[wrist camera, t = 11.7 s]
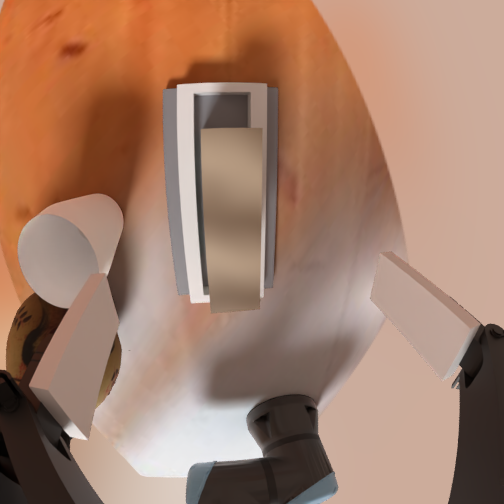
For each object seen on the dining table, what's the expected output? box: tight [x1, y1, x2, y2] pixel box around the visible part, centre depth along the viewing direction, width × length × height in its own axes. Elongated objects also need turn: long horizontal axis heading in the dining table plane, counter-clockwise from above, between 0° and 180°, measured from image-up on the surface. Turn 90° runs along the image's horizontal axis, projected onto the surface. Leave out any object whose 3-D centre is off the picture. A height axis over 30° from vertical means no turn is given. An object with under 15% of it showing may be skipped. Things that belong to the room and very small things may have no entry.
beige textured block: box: [201, 128, 263, 313], centre depth 24 cm, size 14×4×11 cm, turn 0°
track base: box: [163, 82, 278, 303], centre depth 29 cm, size 24×12×4 cm, turn 0°
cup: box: [18, 193, 124, 308], centre depth 23 cm, size 9×9×12 cm
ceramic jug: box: [6, 293, 130, 451], centre depth 20 cm, size 17×15×30 cm
